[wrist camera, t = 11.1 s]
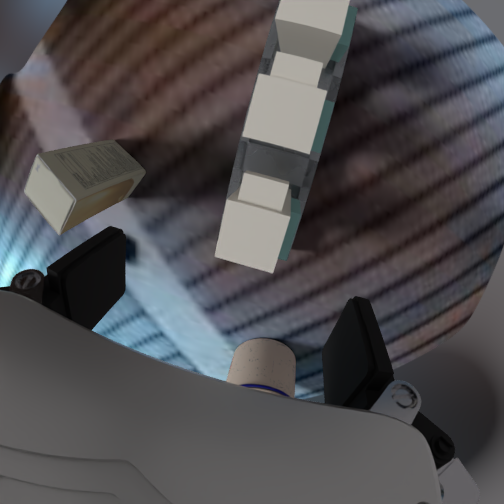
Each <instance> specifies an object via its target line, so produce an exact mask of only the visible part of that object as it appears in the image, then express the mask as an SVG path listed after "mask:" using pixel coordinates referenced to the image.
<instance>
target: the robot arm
mask: <svg viewBox="0 0 504 504" xmlns="http://www.w3.org/2000/svg"><path fill="white" fill-rule="evenodd" d="M125 256H126V235H125V234H123V230H122V229H118V228H115V227H112V226H109V227H107V228H106V229H104V230H102V231H101V232H99V233H98V234H96V235H94V236H93V237H91V238H90V239H88V240H87V241H85V242H84V243H82V244H81V245H79V246H77V247H76V248H74V249H73V250H71V251H70V252H69V253H67V254H66V255H64V256H63V257H61V258H60V259H58V260H57V261H56V262H54V263H53V264H51V265H50V266H48V267H47V275H46V276H45V277H44V275H43V273H42V272H41V271H39V270H35V269H28V270H24V271H21V272H19V273H18V274H16V275H15V276H14V277H13V279H12V281H11V285H10V286H8V287H0V504H477V503H478V502H479V498H480V492H479V488H478V486H477V485H476V483H475V482H474V480H473V479H472V478H471V476H470V475H469V473H468V472H467V470H466V469H465V467H464V466H463V465H462V463H461V462H460V461H459V459H458V458H457V459H455V460H454V459H453V457H454V453H455V448H454V444H453V442H452V440H451V438H450V437H449V436H448V435H447V434H446V433H444V432H443V431H442V430H441V429H439V428H438V427H437V426H436V425H434V423H432V422H431V421H430V420H429V419H428V418H426V417H425V416H424V415H423V414H421V413H420V412H419V411H418V410H419V408H420V405H421V398H420V395H419V393H418V392H417V390H416V389H415V388H414V387H413V386H412V385H411V384H409V383H407V382H404V381H401V380H400V381H399V380H398V381H397V380H396V381H394V377H393V374H394V372H393V369H392V365H391V362H390V359H389V356H388V353H387V349H386V346H385V343H384V340H383V337H382V334H381V331H380V329H379V326H378V323H377V320H376V317H375V314H374V312H373V309H372V306H371V304H370V301H369V300H368V299H365V298H361V297H357V296H355V297H354V298H353V299H351V298H350V299H349V300H348V302H347V304H346V306H345V308H344V310H343V312H342V314H341V316H340V318H339V319H338V321H337V323H336V325H335V327H334V329H333V331H332V333H331V335H330V336H329V338H328V340H327V342H326V344H325V345H324V348H323V351H322V361H323V377H324V395H325V403H319V402H313V401H307V400H303V399H297V398H292V397H287V396H282V395H278V394H273V393H269V392H264V391H260V390H256V389H252V388H248V387H244V386H240V385H237V384H233V383H230V382H226V381H223V380H219V379H216V378H212V377H209V376H206V375H203V374H199V373H196V372H193V371H190V370H187V369H184V368H181V367H179V366H176V365H173V364H170V363H167V362H165V361H162V360H159V359H157V358H154V357H151V356H149V355H146V354H144V353H141V352H139V351H136V350H134V349H131V348H129V347H127V346H124V345H122V344H120V343H117V342H115V341H113V340H111V339H108V338H106V337H104V336H102V335H100V334H98V333H96V332H94V331H91V330H92V329H93V328H94V327H95V326H96V324H97V323H98V322H99V321H100V320H101V319H102V318H103V317H104V315H105V314H106V313H107V312H108V311H109V310H110V309H111V308H112V306H113V305H114V304H115V303H116V302H117V301H118V300H119V299H120V298H121V297H122V296H123V294H124V292H125V287H126V285H125Z"/></svg>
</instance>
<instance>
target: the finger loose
mask: <svg viewBox="0 0 504 504" xmlns="http://www.w3.org/2000/svg"><path fill="white" fill-rule="evenodd" d="M288 187H289V181H285V180H281V179H278V178H274V177H271V176H267V175H263V174H259V173H256V172H252V171H248V170H247V171H246V172H244V175H243V179H242V183H241V186H240V187H239V188H238V189H237V190H236V191H235V192H234V193H233V194H232V195H231V196H230V197H229V198H228V199H227V200H226V205H225V209H224V214H223V219H222V223H221V228H220V233H219V238H218V243H217V247H216V252H215V257H218V258H221V259H225V260H228V261H232V262H235V263H239V264H242V265H246V266H249V267H253V268H256V269H260V270H263V271H267V272H270V273H273V271H274V268H275V265H276V262H277V259H281V260H285V261H286V260H287V257H288V254H289V251H290V248H291V245H292V242H293V239H294V236H295V233H296V230H297V227H298V223H299V220H300V217H301V207H300V200H297V199H294V198H291V189H288Z"/></svg>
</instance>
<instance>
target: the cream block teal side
mask: <svg viewBox="0 0 504 504" xmlns="http://www.w3.org/2000/svg"><path fill="white" fill-rule="evenodd" d="M349 1H350V0H281V1H280V4H279V7H278V10H277V14H276V17H275V22H276V27H277V33H278V39H279V45H280V51H281V52H282V53H286V54H291V55H295V56H299V57H303V58H307V59H310V60H314V61H317V62H321V63H323V66H322V68H324V69H325V68H326V66H327V64H328V62H329V60H333V61H336V62H339V61H340V60H341V58H342V57H343V55H344V54H345V52H346V50H347V49H348V47H349V44H350V40H351V36H352V31H353V27H354V23H355V18H356V14H357V9H358V8H355V7H352V6H349Z"/></svg>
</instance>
